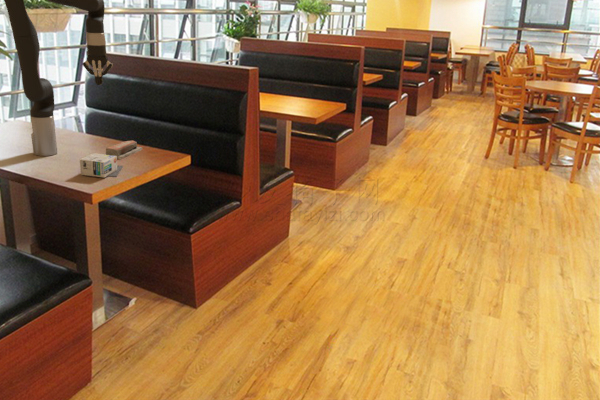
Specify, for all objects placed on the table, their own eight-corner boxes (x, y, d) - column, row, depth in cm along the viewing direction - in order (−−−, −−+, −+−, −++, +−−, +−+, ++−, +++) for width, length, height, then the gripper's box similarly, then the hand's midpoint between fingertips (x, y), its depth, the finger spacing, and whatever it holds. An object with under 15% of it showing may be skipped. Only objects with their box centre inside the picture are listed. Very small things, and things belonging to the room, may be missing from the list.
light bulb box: (80, 175, 227) (104, 178, 225) (78, 159, 224) (103, 162, 222) (94, 167, 236) (118, 170, 235) (93, 152, 234) (117, 155, 232)
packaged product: (120, 150, 249) (101, 147, 251) (121, 160, 250) (101, 157, 253) (142, 140, 265) (124, 138, 267) (142, 150, 267) (124, 147, 269)
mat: (86, 176, 227) (86, 175, 227) (94, 165, 240) (94, 165, 240) (116, 176, 228) (116, 175, 228) (123, 166, 241) (123, 165, 241)
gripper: (77, 43, 232) (81, 85, 238) (110, 45, 234) (113, 86, 240) (82, 42, 239) (85, 83, 245) (114, 43, 241) (116, 84, 247)
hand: (99, 84), depth 243 cm, fingers closed
